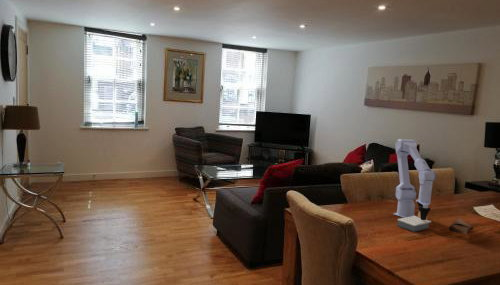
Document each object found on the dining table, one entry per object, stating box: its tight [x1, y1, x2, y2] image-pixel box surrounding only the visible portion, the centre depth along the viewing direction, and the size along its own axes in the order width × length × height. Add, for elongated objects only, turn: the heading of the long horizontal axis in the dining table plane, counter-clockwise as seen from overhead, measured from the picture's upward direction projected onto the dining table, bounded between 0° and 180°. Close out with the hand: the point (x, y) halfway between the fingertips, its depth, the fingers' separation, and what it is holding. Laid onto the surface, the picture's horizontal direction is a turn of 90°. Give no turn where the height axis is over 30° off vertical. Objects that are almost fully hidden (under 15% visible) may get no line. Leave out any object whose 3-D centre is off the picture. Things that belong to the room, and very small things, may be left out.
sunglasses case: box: [448, 217, 473, 236], centre depth 190 cm, size 18×7×7 cm
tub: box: [397, 220, 430, 233], centre depth 187 cm, size 13×9×3 cm
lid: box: [397, 210, 432, 226], centre depth 187 cm, size 15×10×5 cm, turn 122°
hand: (422, 217), depth 191 cm, fingers open, 7 cm apart
